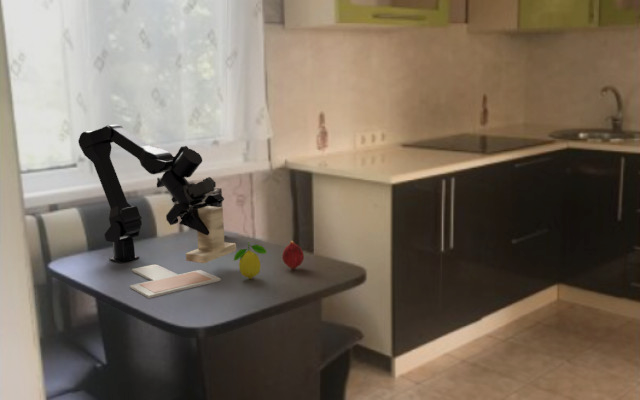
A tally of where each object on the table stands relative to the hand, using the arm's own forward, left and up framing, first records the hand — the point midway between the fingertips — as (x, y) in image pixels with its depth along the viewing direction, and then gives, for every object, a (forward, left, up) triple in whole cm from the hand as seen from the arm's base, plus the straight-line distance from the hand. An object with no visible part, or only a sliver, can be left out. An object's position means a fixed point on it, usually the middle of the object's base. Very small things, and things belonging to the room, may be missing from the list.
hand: (214, 231), depth 180 cm
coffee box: (-31, +25, -12) cm, 42 cm away
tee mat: (-8, -12, -11) cm, 18 cm away
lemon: (+12, +2, -12) cm, 17 cm away
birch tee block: (-1, 0, -7) cm, 7 cm away
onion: (+15, +15, -12) cm, 24 cm away
